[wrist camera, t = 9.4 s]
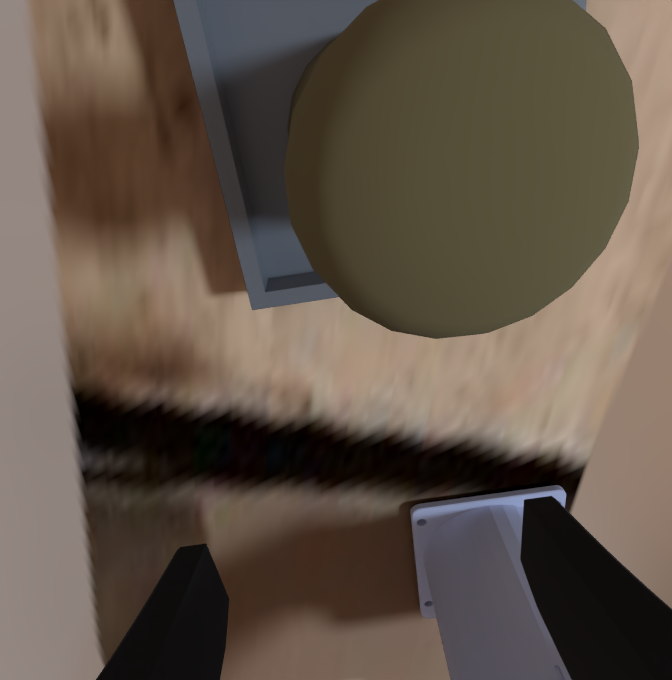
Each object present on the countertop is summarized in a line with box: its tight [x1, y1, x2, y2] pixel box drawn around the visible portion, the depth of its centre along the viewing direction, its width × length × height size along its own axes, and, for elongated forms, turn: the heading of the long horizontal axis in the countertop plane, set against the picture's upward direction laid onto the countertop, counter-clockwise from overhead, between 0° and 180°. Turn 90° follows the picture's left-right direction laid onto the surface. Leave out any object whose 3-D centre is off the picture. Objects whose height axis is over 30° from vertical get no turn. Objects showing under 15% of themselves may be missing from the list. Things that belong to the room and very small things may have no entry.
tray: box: [173, 0, 586, 310], centre depth 15 cm, size 11×11×2 cm
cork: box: [283, 0, 639, 339], centre depth 11 cm, size 6×6×11 cm
